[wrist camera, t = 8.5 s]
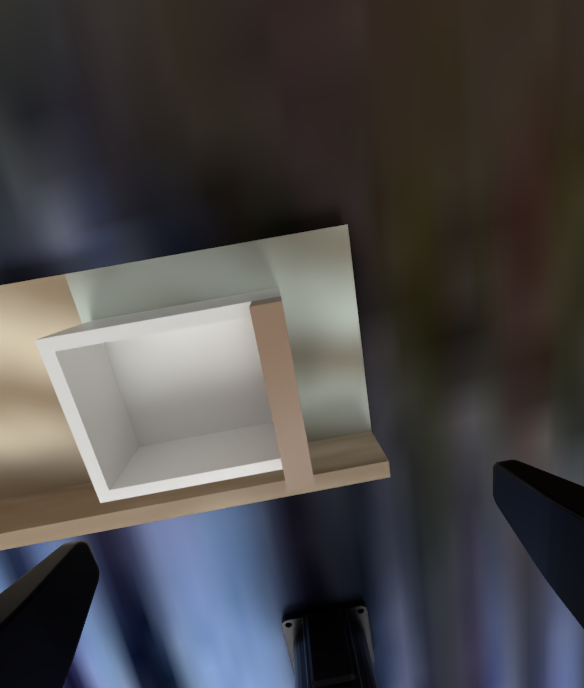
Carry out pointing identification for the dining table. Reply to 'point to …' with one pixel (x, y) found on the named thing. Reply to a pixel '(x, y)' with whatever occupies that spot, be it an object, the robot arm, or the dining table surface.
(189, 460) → the drawer
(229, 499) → the beige shallow tray
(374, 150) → the dining table surface
